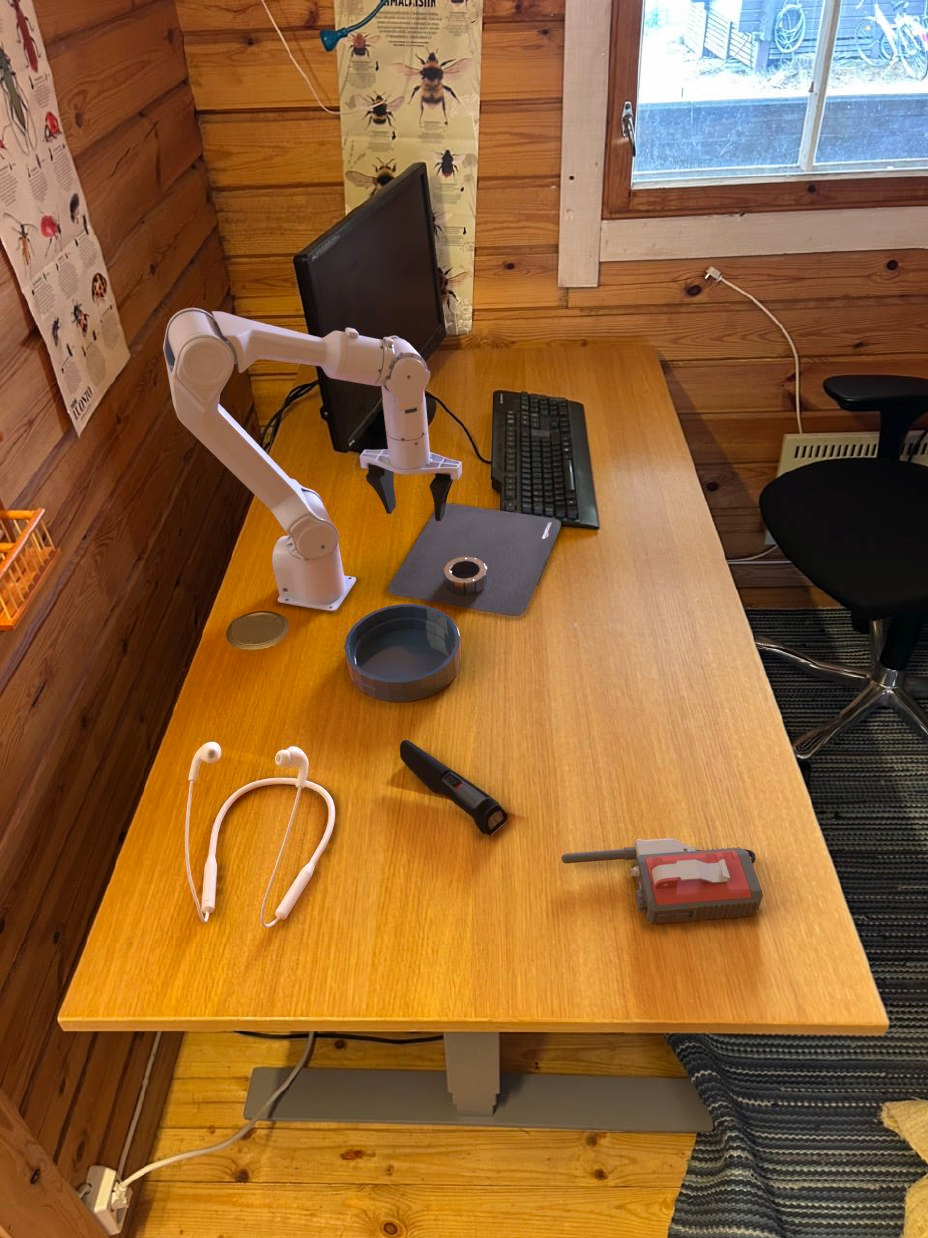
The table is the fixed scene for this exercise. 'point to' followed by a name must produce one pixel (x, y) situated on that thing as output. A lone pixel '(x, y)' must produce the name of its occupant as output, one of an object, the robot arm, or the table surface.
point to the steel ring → (470, 584)
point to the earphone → (284, 759)
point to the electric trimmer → (454, 788)
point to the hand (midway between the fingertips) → (415, 513)
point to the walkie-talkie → (686, 880)
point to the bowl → (403, 652)
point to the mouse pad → (479, 557)
